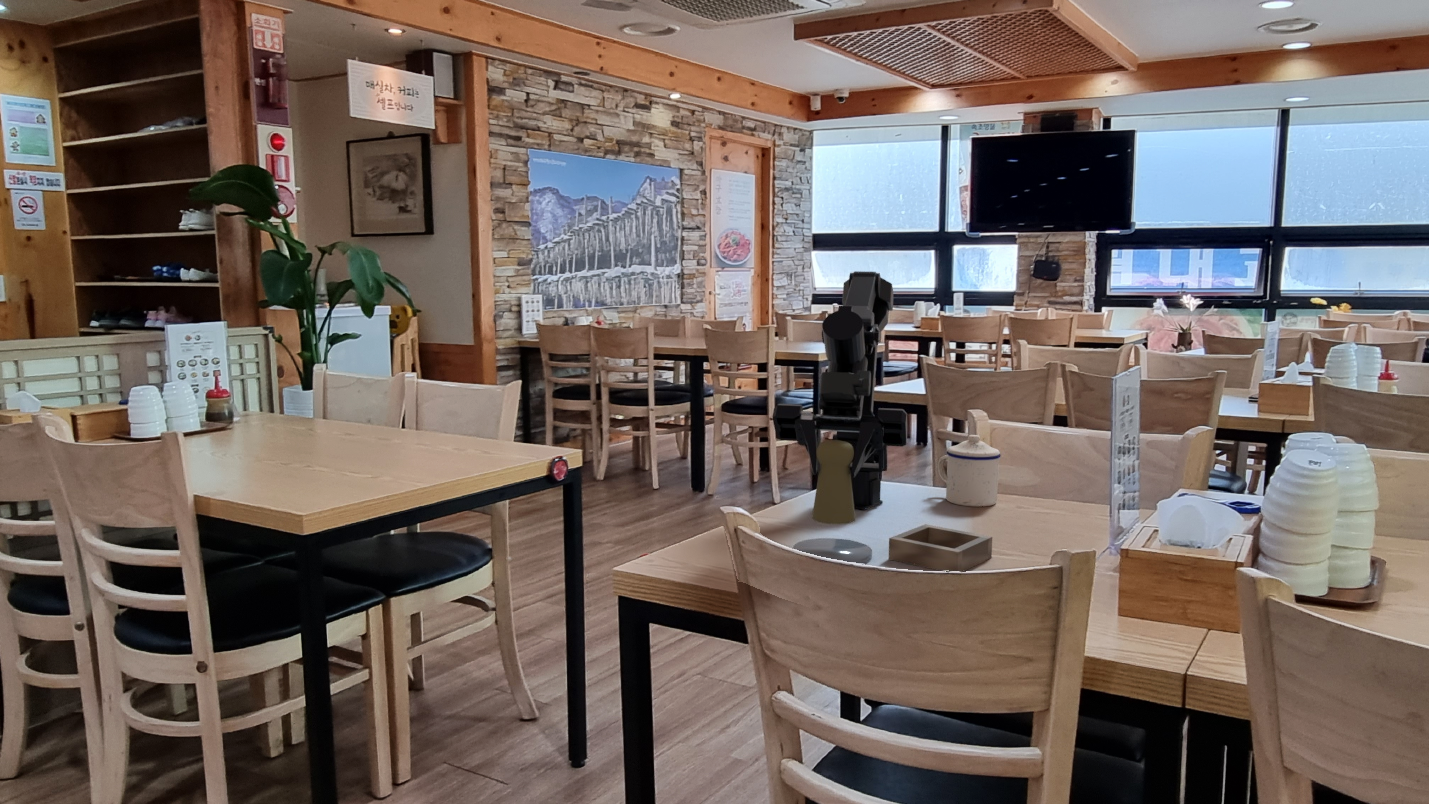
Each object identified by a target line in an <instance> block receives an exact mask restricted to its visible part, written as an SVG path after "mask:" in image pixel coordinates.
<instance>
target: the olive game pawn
mask: <svg viewBox="0 0 1429 804" xmlns="http://www.w3.org/2000/svg"><path fill="white" fill-rule="evenodd" d="M816 456H817V460H818V464H819V471H818V477H817V484H816V489H815V496H814V503H813V509H812V514H811V515H812V516H811V519H812V521H815V522H816V523H817V522H818V523H821V524H827V525H846V524H852V523H853V522H855V521H856V513H855V508H854V502H853V492H852V483H851V473H850V464H851V463H852V461H853V458H854V449H853V447H852V445H851V444H850V443H848V442H845V441H840V440H832V439H831V440H830V439H829V440H824V441H821V442H820V443H818V447H817V451H816Z"/></svg>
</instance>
